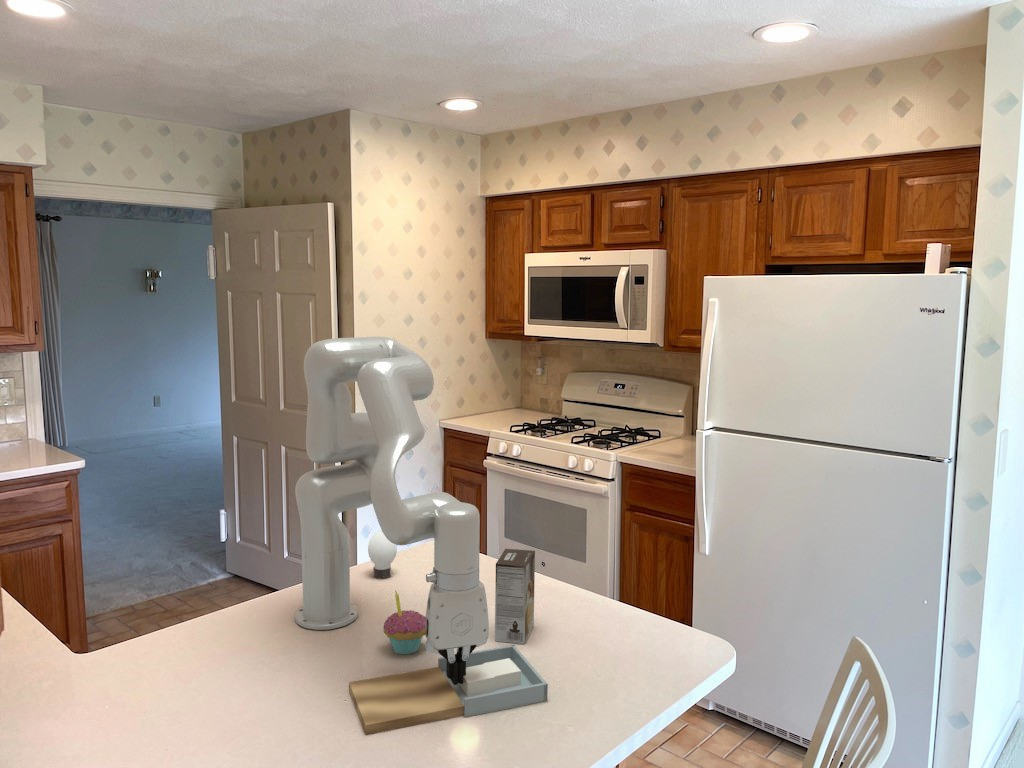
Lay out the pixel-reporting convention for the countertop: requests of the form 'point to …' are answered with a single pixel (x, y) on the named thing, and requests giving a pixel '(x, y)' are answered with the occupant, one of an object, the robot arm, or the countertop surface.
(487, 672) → the tile
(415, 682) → the board
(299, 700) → the countertop surface
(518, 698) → the tray
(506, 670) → the tile
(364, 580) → the countertop surface
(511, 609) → the coffee box
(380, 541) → the light bulb
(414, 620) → the cupcake
